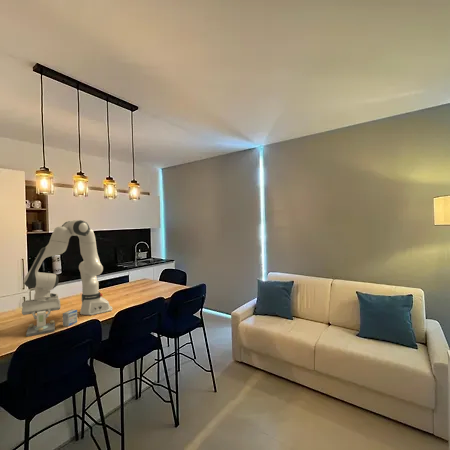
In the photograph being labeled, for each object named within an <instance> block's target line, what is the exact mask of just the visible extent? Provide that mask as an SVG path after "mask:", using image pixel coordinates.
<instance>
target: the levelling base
mask: <svg viewBox="0 0 450 450" xmlns="http://www.w3.org/2000/svg"><path fill="white" fill-rule="evenodd" d="M55 331H56V322H55V320H54V319H53V320H49V322H48V323H46V326H42V327H37V324H36V325H34V323H29V324H28V327H27V330H26V334H25V338H26V337H33V336H37V335H44V334H49V333H55Z"/></svg>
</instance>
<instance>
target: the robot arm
mask: <svg viewBox="0 0 450 450" xmlns="http://www.w3.org/2000/svg"><path fill="white" fill-rule="evenodd" d="M94 232H95V231H94V230H93V229H92V228H91V227H90V225H89V224H88V222H86V221H85V220H81V219H78V220H77V219H76V220H68V221H66V222H64V223H63V224H62V225H60V226H57V227H55V228H54V230H53V231H52V232H51V233H52V234H51V236H50V237H49V238H50V239H49V242H48V243H47V245H46V246H45V247H42V248H41V249H40V250H39V252H38V253H37V255H36V257H35V259H34V261H33V262H32V264H31V266H30V268H29V270H28V272H27V274H26V275H25V276H24V278H23V284H24V286H26V287H27V288H34V295H33V299H30V300H25V301H22V303H21V307H22V308H21V314H22V315H23V316H27V315H32V316H33V319H34V320H37V312H38V311H45V310H46V319H47V318H49V315H50V314H51V312H54V311H60V310H61V300H60V298H59V294H58V293H52V292H51V291H52V290H54V289H55V288H56V287H57V286H59V276H58V275H57V274H56V273H51V272H40V271H39V269H40V268H41V266H42V264H43V262H44V260H45V259H46V258H49V257H55V256H59V255H63V253H65V252H66V251H67V249H68V246H69V243H70V239H71V237H73V236H75V237H78V239H79V243H78V244H79V250H80V255H81V257H82V259H83V261H81V262H80V263H79V265H78V270H79V272H80V279H81V284H82V291H81V292H82V293H81V307H80V311H79V314H80V315H84V316H85V315H87V316H94V315H98V314H102V313H108V312H112V311H113V306H111V305H110V301H108V300H107V299H106V298H105V297H103V296H104V295H103V293H102V292H99V286H100V284H99V283H100V282H99V280H98V278H97V276H100V275H101V274H102V273H103V271H104V266H103V265H102V263H101V261H100V257H99V254H98V249H97V248H98V247H97V241H96V240H97V239H96V235H95V233H94Z"/></svg>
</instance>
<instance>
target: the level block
mask: <svg viewBox="0 0 450 450" xmlns="http://www.w3.org/2000/svg"><path fill="white" fill-rule="evenodd" d="M46 314H47V312H46V310H45V311H38V312H37V313H36V315H37V319H36V325H37V327H42V326H46V324H47V323H46V322H47V320H46V319H47V318H46Z"/></svg>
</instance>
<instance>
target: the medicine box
mask: <svg viewBox="0 0 450 450" xmlns="http://www.w3.org/2000/svg"><path fill="white" fill-rule="evenodd" d="M77 323H78V309H69V310H68V311H65V312H62V327H67V328H68V327H70V326H73V325H74V324H77Z"/></svg>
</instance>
